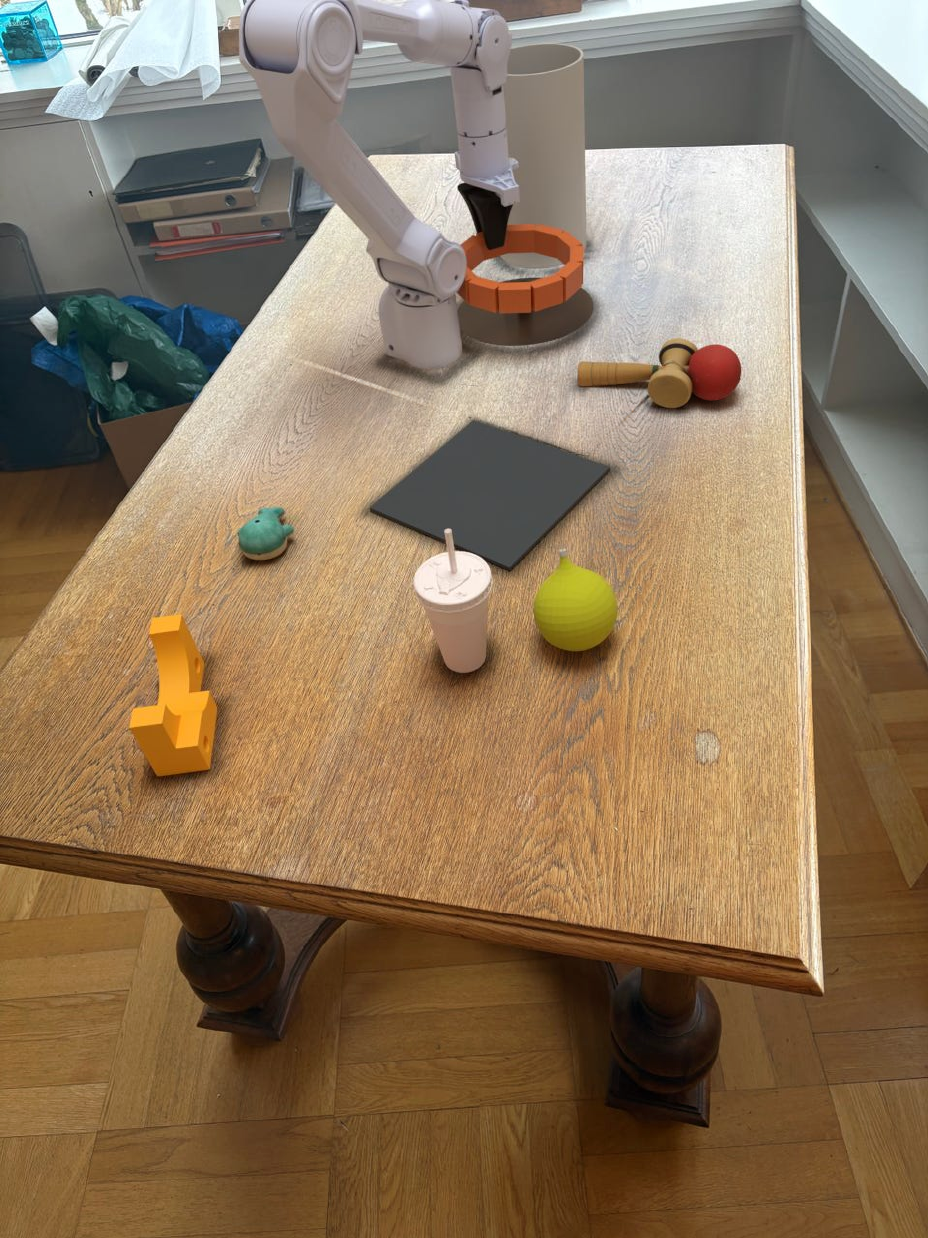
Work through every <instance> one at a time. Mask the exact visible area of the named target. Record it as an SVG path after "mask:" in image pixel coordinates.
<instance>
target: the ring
mask: <svg viewBox="0 0 928 1238" xmlns="http://www.w3.org/2000/svg"><path fill="white" fill-rule="evenodd" d="M460 245H461V246H462V248H463V250H464V252H465V255H466V263H467V268H466V275H465V278H464V281H463V283H462V285H461V287H460V288H459V289H460V290H459V291H458V292H456V294H457V295H458V296H459V297H460V298H461V299H462V301H465V302H466V303H467V304H468V303H470V305H471V306H474V307H477V308H481V309H484V310H487V311H491V312H494V313H496V312H497V311H498V310H499V313H531V309H533V310H534V311H535V312H536V311H539V310H542V309H545V308H548V307H551V306H555V305H558V304H561V303H563V300H564V301H567V300H568V299H569V298H570V297H571V296H572V295H573V294H574V293H575V292H577V291H578V290H579V289H580V288H582V287H583V285H584V254H585V251H584V246H582V243H581V242H580V241H578V240H577V239H576V238H575V237H573V236H572V235H571V234H570V233H569V232H565V230H561V229H557V228H553V227H549V226H545V225H541V224H539V225H537V226H536V224H518V225H507V230H506V237H505V243H504V246H502V247H499V248H496V249H492V250H489V249H487V246H486V243H485V240H484V237H483V232H479V233H477V232H475V235H474V234H472V235H471V236H469V237H468V238H467V239H466V240H464V241H463V242H462V243H460ZM508 253H537V254H541V255H545V256H549V257H553V258H557V259H558V260H559V261H560V262H561V263H563V266H562V267H561V268H560V269H559V270H558V271H557V272H555V273H553V274H551V275H548V276H544V277H540V278H541V279H538V280H535V281H531V282H513V283H499V282H500V281H495V280H491V279H488V278H485V277H481V276H477V275H476V274H475V272H473V270H474V269H476V268H477V267H479V265H481V264H482V263H483V262H485V261H487V260H492V259H495V258H499V257H500V256H501V255H504V254H508Z"/></svg>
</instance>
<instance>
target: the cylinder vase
mask: <svg viewBox="0 0 928 1238" xmlns="http://www.w3.org/2000/svg"><path fill="white" fill-rule="evenodd" d="M584 57H585V55H584V51H583V50H582V49H581V48H580V47H577V46H575V45H571V44H566V43H557V42H556V43H555V42H548V43H547V42H546V43H532V44H525V45H519V46H514V47H511V50H510V54H509V57H508V61H507V77H506V83H505V84H503V85H504V99H505V112H506V127H507V141H508V154H509V158H514V159H515V160H517V161H518V166H519V167H518V168H517V169H514V170H512V172H513V176H514V180H515V183H516V184H517V185H518V186H519V197H520V202H519V203H516V204H513V206H512V209H511V212H510V215H509V219H508V224H507V225H518V224H536V226H537V225H539V224H541V225H545V226H549V227H553V228H557V229H561V230H565V232H569V233H570V234H571V235H572V236H573V237H575V238H576V239H577V240H578V241H580V242H581V243H582V246H584V252H586V249H587V243H588V241H587V239H588V237H587V186H586V185H587V184H586V183H587V182H586V179H587V177H586V128H585V127H586V125H585V124H586V123H585V122H586V121H585V120H586V119H585V118H586V117H585V65H584V63H585V62H584ZM499 257H500V259H501V260H503V261H504V263H507V264H509V265H511V266H514V267H516V268H517V267H518V268H523V269H549V268H555V267H559V266H562V265H563V266H564V264H563V263H561V262H560V261H559V260H558V259H557V258H553V257H549V256H545V255H541V254H537V253H508V254H504V255H501V256H499Z"/></svg>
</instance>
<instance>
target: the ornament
mask: <svg viewBox="0 0 928 1238" xmlns="http://www.w3.org/2000/svg"><path fill="white" fill-rule="evenodd" d="M558 539H559V542H560V545H561V548H560V549H559V550H558V555H559V564H558V567H557V568H556V569H555V571H554V572H552V573H551V574H550V575H549V576H548V577H547V578H546V579H545V580H544V581H543V582H542V583H541V584H540V587H539V588H538V590H537V592H536V593H535V597H534V601H533V610H532V612H533V618H534V623H535V625H536V627H537V629H538V631H539V633H540V634H541V635H542V637H544V639H545V640H546V641H547V642H548V643H549V644H550V645H552V646H554V647H556V648H558V649H561V650H564V651H569V652H581V651H587V650H590V649H593V648H594V647H597V646H599V645H600V644H602V642H604V640H607V638H608V636H609V635H610V634H611V632H612V631H613V629H614V627H615V624H616V622H617V618H618V601H617V598H616V595H615V592H614V590H613V588H612V586H611V585H610V584H609V582H608V581H607V580H606V579H605V578H604V577H603V576H602V575H601V574H599V573H597V572H595V571H592V570H590V569H588V568H584V567H581V566H579V565H576V564H574V563H573V561H571V560H570V558H569V557H568V553H567V552H568V551H567V549H566V548H563V543H562V540H561V536H559V537H558Z"/></svg>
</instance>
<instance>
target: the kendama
mask: <svg viewBox="0 0 928 1238" xmlns="http://www.w3.org/2000/svg"><path fill="white" fill-rule="evenodd" d="M658 360H659V363H660V365H659V364H648V363H641V362H640V363H637V362H616V361H615V362H613V361H612V362H608V361H586V360H585V361H584V360H582V361H579V363H578V366H577V383H578V386H579V387H594V386H595V387H600V386H613V385H623V384H632V383H640V382H641V383H642V382H644V381H645V382H647V381H648V385H647V395H648V397H649V399H650V400H651V401H652V402H653V403H655V404H656V405H657V406H660V407H663V408H667V409H676V408H680V407H682V406H684V405H685V404H687V403H688V402H689V400H690V398H691V396H692V394H694V395H695V396H696V397H698V398H700V399H702V400H704V401H719V400H722V399H724V398H727V397H728V396H730V395H731V394H732V393H733V392H734V391H736V388H737V387H738V386H739V384H740V382H741V379H742V378H741V377H742V364H741V361H740V359H739V356H738V355H737V353H736V352H735V351H733V350H732V349H731V348H730V347H727V346H726V345H722V344H716V343H715V344H708V345H705V346H702V347H701V348H699V349H698V347H697V346H696V345H695V343H694V342H692V341H690V340H688V339H686V338H682V337H681V338H680V337H675V338H671V339H669V340H667V341H666V342H664V343H663V344H662V346H661V348H660V350H659V353H658Z"/></svg>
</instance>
